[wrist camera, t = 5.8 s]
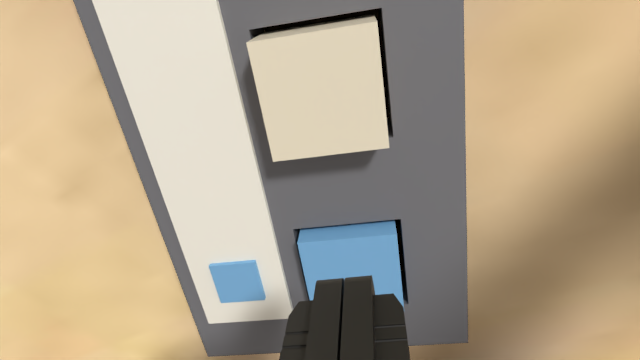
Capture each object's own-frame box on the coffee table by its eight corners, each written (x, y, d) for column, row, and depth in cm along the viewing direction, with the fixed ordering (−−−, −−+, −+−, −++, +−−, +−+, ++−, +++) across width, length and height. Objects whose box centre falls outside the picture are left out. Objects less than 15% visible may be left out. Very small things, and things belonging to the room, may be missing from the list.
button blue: (391, 199, 24) (396, 234, 20) (398, 270, 26) (404, 311, 23) (304, 208, 24) (297, 243, 21) (318, 277, 26) (313, 317, 23)
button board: (436, -448, 14) (460, -577, 10) (456, 306, 27) (470, 350, 24) (4, -313, 16) (-85, -386, 13) (221, 321, 29) (205, 363, 26)
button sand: (373, 13, 18) (377, 21, 15) (384, 121, 20) (389, 148, 17) (264, 31, 19) (246, 42, 16) (285, 134, 21) (272, 161, 18)
